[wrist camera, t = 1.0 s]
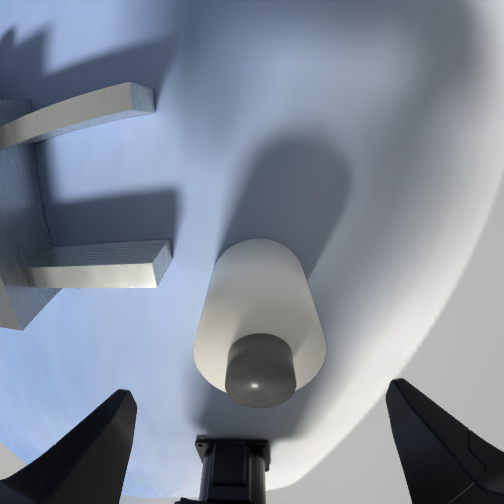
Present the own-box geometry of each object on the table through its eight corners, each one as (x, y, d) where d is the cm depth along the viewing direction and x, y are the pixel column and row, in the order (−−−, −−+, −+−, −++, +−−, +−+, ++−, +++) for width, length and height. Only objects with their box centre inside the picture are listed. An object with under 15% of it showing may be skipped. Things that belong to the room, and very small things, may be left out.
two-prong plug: (176, 285, 16) (152, 342, 12) (2, 285, 17) (-36, 319, 12) (152, 11, 10) (113, -29, 6) (-30, 92, 11) (-79, 97, 6)
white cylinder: (302, 317, 17) (325, 421, 10) (217, 321, 17) (199, 425, 10) (305, 236, 15) (343, 323, 8) (207, 240, 15) (172, 330, 8)
